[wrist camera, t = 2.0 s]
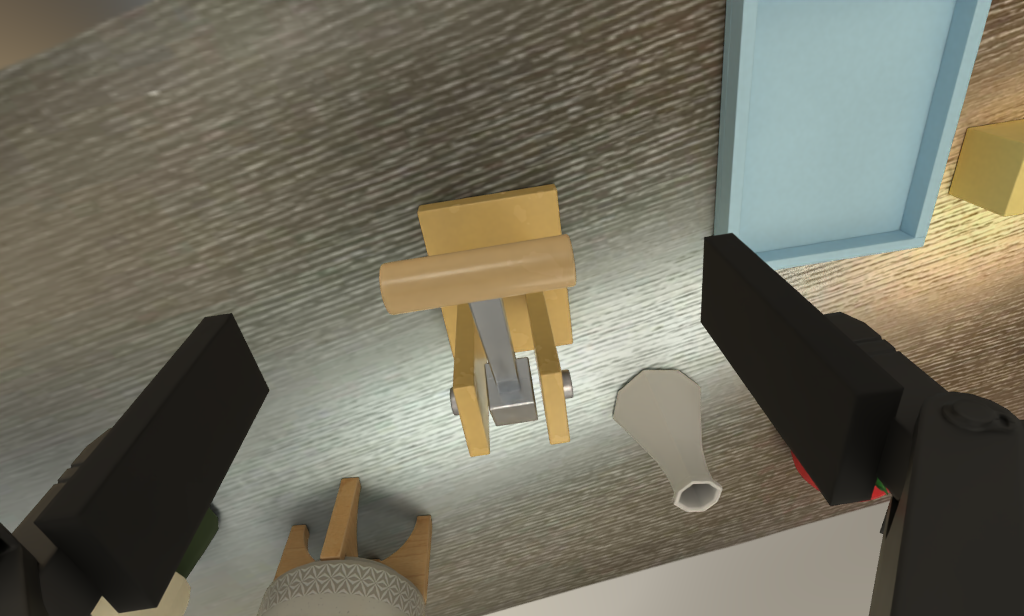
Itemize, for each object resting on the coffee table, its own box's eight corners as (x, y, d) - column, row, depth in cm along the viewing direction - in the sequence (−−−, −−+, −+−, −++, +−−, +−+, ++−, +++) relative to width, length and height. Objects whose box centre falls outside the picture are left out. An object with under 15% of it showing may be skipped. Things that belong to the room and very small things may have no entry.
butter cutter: (418, 205, 35) (386, 326, 22) (554, 183, 35) (600, 292, 22) (455, 352, 41) (446, 513, 28) (570, 334, 41) (614, 488, 28)
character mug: (111, 483, 46) (-7, 641, 34) (187, 464, 45) (92, 619, 34) (183, 557, 51) (101, 715, 40) (251, 541, 51) (188, 697, 39)
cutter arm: (378, 244, 17) (378, 309, 16) (564, 214, 17) (579, 277, 16) (456, 388, 28) (459, 432, 27) (566, 371, 28) (574, 414, 27)
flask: (638, 356, 42) (679, 448, 34) (714, 379, 44) (772, 472, 35) (598, 421, 45) (626, 520, 37) (670, 440, 47) (714, 539, 38)
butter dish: (727, -20, 29) (745, -20, 27) (973, -61, 29) (1010, -65, 27) (711, 263, 38) (724, 278, 36) (900, 234, 38) (923, 247, 36)
